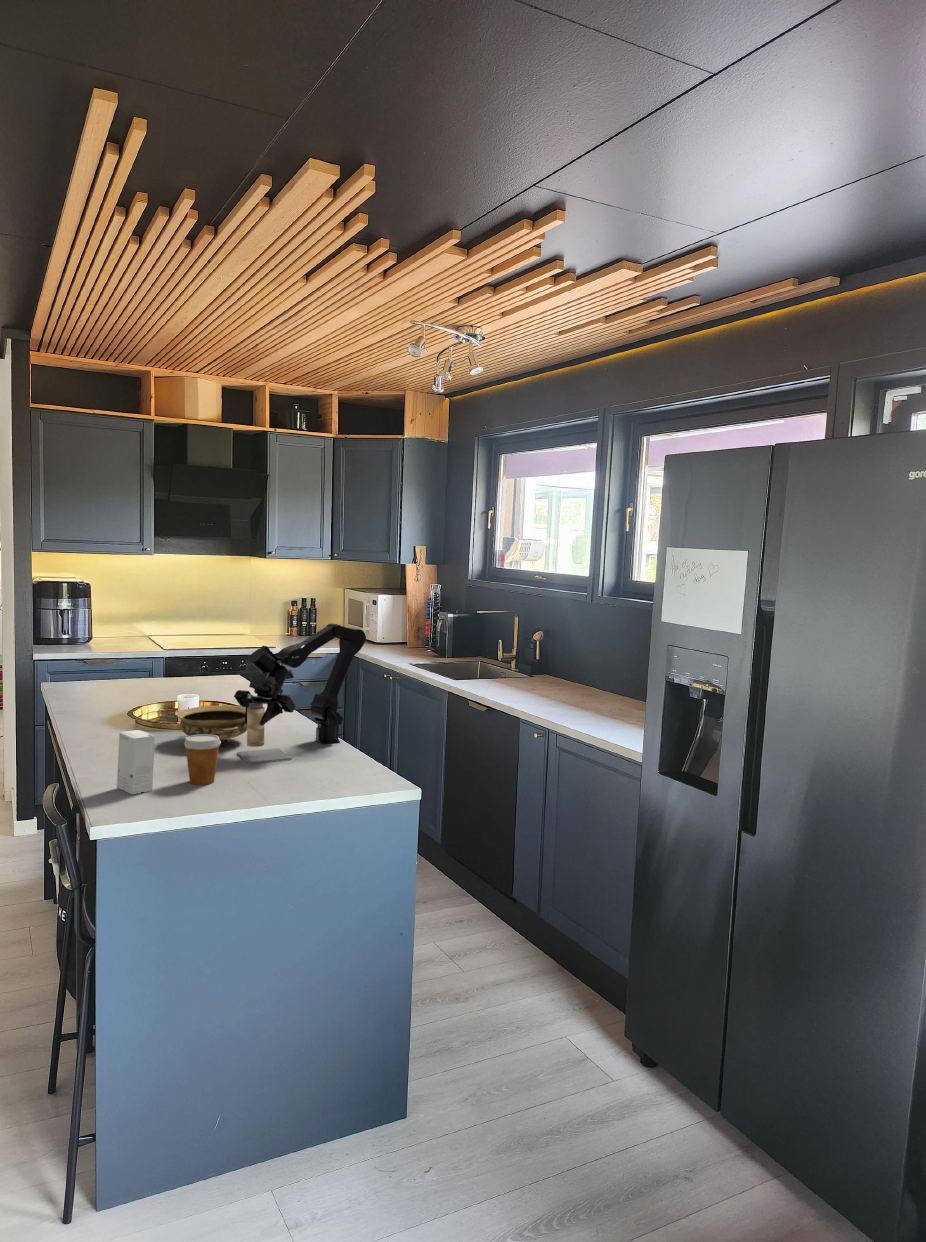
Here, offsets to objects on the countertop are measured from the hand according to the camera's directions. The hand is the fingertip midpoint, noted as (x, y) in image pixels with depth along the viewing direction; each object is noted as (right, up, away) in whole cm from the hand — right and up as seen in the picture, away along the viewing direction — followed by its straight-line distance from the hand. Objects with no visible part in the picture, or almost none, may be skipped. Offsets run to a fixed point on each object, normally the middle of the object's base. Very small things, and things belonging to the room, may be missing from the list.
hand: (253, 724), depth 250 cm
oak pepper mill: (0, -6, +2) cm, 7 cm away
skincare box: (-22, -13, -34) cm, 43 cm away
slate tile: (+2, -10, +4) cm, 11 cm away
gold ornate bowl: (-17, -9, +19) cm, 27 cm away
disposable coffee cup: (-8, -13, -25) cm, 29 cm away
